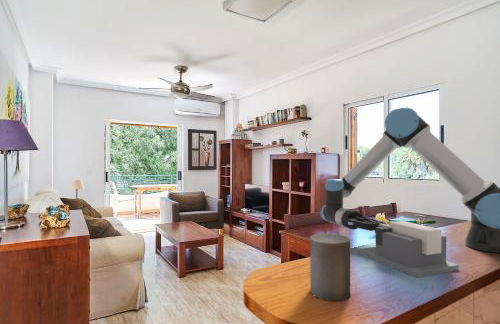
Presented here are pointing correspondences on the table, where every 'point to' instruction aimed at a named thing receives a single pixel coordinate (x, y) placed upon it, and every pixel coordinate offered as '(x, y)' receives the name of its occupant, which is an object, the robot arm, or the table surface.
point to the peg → (420, 235)
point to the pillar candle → (330, 266)
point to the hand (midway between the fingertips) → (394, 231)
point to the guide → (407, 254)
